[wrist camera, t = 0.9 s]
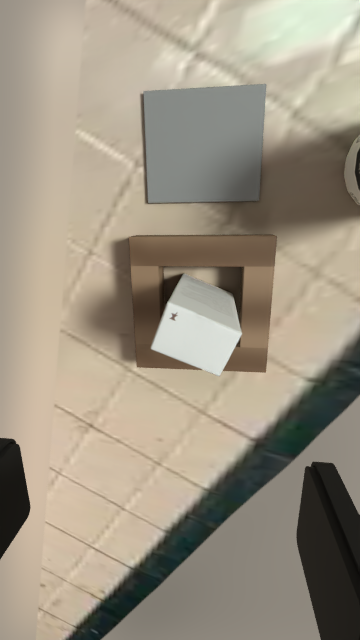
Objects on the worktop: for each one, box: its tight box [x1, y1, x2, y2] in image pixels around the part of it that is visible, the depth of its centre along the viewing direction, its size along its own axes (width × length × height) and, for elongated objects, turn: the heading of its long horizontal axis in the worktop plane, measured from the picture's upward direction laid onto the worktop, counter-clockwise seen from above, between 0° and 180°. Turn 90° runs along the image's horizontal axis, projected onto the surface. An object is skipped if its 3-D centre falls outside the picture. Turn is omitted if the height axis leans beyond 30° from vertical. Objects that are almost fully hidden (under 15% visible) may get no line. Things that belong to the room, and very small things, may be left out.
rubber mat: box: [144, 84, 266, 203], centre depth 30 cm, size 10×11×1 cm
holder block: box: [129, 235, 277, 372], centre depth 33 cm, size 14×14×3 cm
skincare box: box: [151, 273, 242, 376], centre depth 29 cm, size 6×4×12 cm
